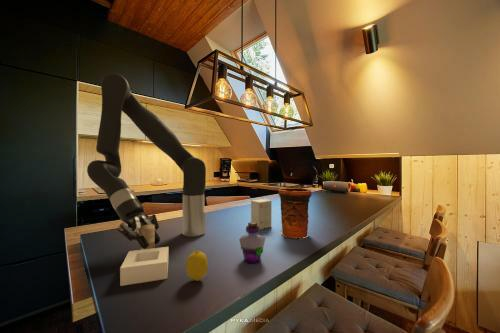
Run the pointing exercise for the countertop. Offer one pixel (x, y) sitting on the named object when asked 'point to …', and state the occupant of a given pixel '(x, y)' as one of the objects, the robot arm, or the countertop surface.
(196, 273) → the lemon
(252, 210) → the small box
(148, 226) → the peg
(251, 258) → the potion bottle
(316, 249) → the countertop surface
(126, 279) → the socket
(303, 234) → the vessel
